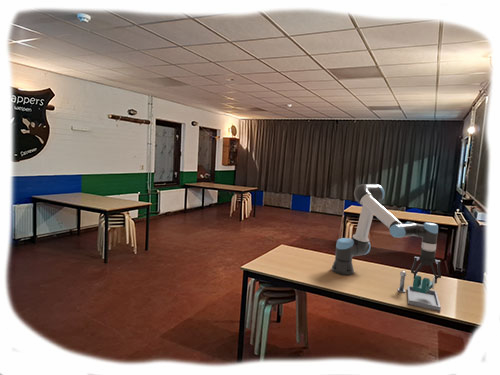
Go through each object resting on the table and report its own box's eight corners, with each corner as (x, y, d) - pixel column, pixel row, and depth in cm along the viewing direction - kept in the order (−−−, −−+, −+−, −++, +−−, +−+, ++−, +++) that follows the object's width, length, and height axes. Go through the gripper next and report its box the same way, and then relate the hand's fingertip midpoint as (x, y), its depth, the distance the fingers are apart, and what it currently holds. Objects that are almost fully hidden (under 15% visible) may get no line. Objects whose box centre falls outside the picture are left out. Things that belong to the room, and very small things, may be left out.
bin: (408, 304, 187) (408, 300, 187) (407, 289, 209) (407, 285, 209) (440, 311, 181) (440, 307, 181) (435, 294, 203) (436, 291, 202)
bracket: (425, 293, 185) (426, 280, 184) (412, 289, 190) (413, 276, 189) (434, 285, 198) (436, 272, 197) (422, 281, 202) (424, 269, 202)
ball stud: (397, 291, 205) (399, 271, 204) (397, 289, 209) (399, 269, 207) (404, 292, 203) (407, 273, 202) (404, 290, 207) (406, 270, 206)
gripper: (448, 250, 191) (443, 288, 193) (408, 245, 199) (404, 280, 202) (450, 254, 184) (445, 292, 186) (408, 248, 192) (404, 285, 195)
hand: (424, 286), depth 194 cm, fingers closed on bracket, 8 cm apart
